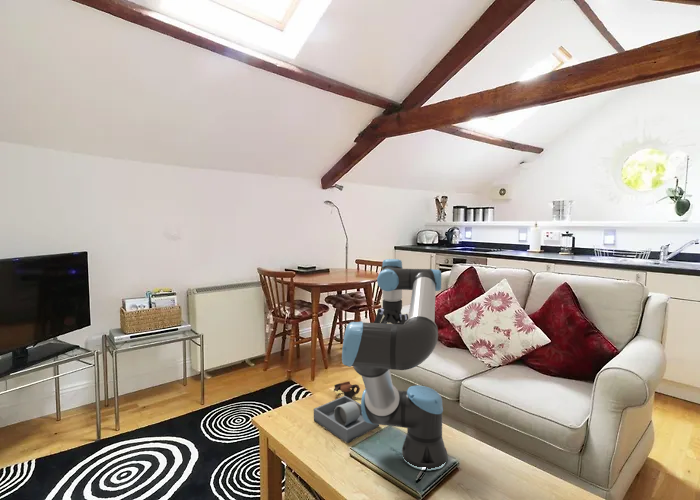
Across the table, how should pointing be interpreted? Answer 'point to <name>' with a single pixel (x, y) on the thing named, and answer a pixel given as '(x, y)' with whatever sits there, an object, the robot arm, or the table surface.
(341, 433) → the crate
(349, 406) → the ceramic mug
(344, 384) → the brown clay vessel
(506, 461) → the table surface
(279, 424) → the table surface
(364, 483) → the table surface
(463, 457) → the table surface
